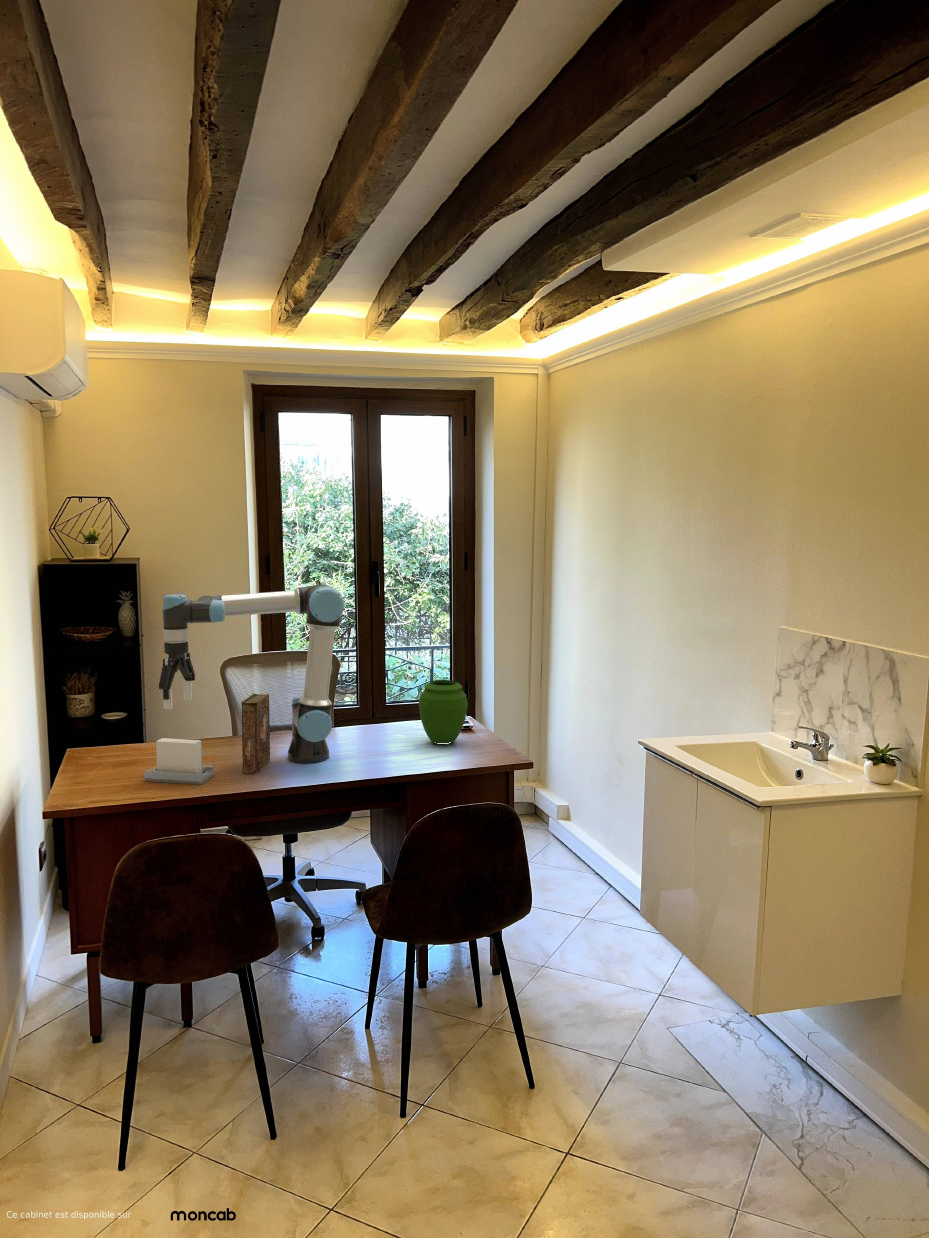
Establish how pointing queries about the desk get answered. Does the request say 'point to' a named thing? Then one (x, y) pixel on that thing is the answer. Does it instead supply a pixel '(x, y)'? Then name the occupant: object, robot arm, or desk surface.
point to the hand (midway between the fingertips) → (178, 704)
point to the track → (180, 776)
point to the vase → (443, 710)
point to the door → (179, 755)
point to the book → (255, 733)
